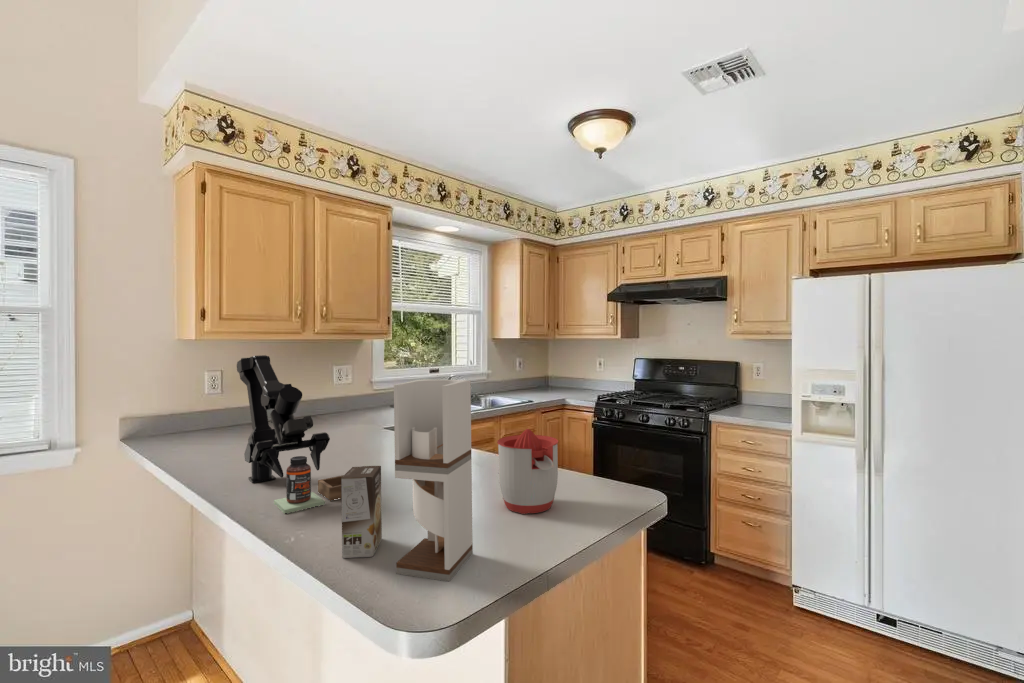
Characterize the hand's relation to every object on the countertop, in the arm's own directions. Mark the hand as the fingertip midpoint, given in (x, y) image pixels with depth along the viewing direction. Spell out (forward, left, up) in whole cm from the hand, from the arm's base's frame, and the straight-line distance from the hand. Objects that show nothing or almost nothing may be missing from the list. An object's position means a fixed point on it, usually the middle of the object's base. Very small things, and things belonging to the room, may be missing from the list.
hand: (300, 473), depth 128 cm
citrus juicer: (+41, +44, -9) cm, 60 cm away
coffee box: (+36, +2, -9) cm, 37 cm away
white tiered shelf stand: (+52, +10, -9) cm, 53 cm away
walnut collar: (-3, +12, -9) cm, 15 cm away
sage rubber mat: (-1, 0, -9) cm, 9 cm away
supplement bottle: (-2, 0, -8) cm, 8 cm away
